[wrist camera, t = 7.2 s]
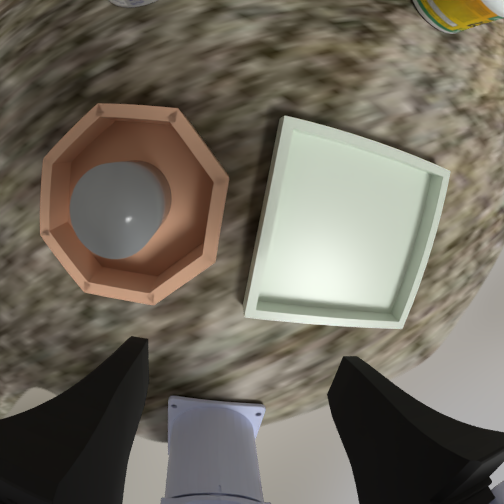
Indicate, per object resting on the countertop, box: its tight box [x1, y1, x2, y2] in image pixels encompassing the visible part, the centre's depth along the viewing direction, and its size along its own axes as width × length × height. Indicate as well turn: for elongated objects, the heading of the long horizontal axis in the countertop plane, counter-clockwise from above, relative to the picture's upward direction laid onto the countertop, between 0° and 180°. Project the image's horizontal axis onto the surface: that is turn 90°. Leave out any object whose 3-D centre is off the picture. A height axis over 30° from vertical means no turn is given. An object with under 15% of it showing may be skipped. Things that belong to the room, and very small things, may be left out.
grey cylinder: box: [70, 160, 172, 259], centre depth 14 cm, size 4×4×4 cm
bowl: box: [40, 103, 229, 305], centre depth 15 cm, size 10×10×3 cm
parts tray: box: [243, 116, 450, 329], centre depth 18 cm, size 12×12×2 cm
